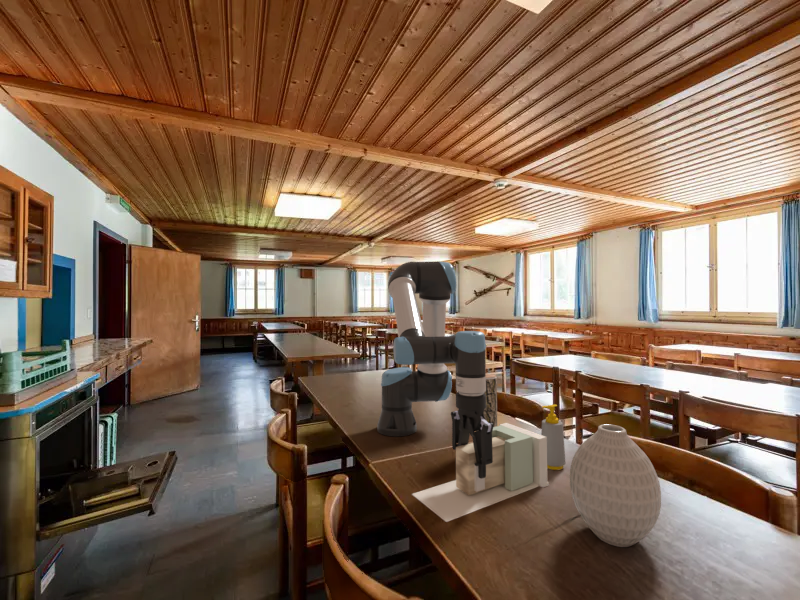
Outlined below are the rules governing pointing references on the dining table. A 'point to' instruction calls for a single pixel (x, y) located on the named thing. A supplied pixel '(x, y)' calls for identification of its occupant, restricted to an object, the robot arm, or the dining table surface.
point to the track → (458, 503)
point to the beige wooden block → (468, 458)
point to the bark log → (491, 399)
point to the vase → (615, 487)
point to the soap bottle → (554, 440)
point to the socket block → (516, 457)
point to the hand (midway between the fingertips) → (471, 484)
